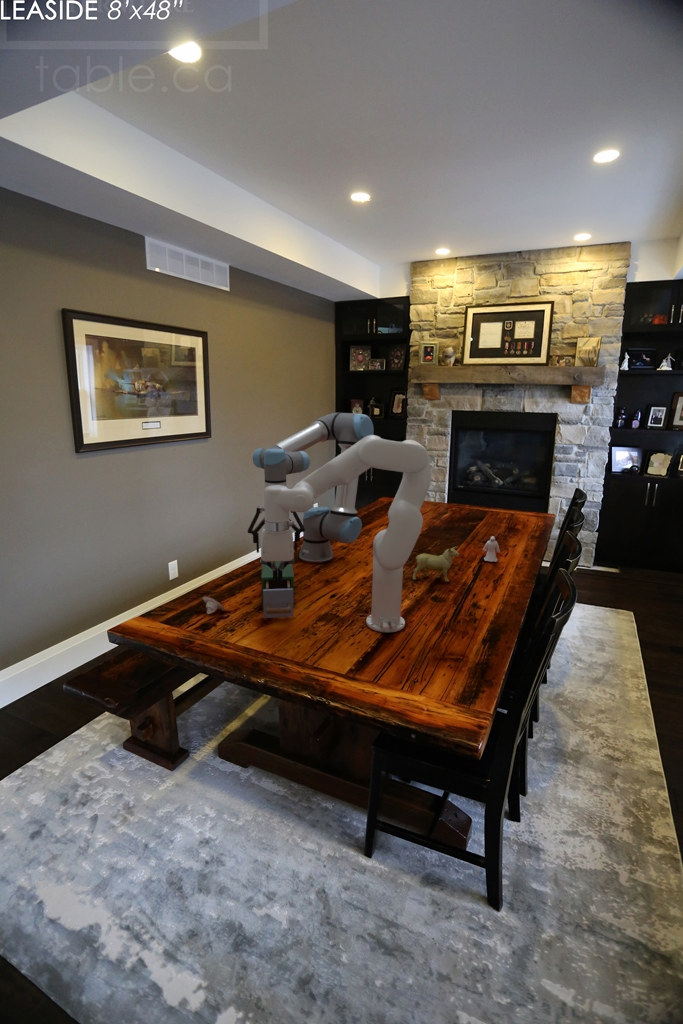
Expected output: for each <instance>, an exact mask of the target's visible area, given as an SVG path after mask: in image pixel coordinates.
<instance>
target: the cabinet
mask: <svg viewBox="0 0 683 1024" xmlns="http://www.w3.org/2000/svg"><path fill="white" fill-rule="evenodd" d="M275 565H276V567H277V576H278V567H279V565H280V562H275ZM285 579H289V581H290V588H293V609H295V589H294V588H295V586H294V585H295V575H294V569H293V564H289V565H287V566H286V567H285V568H284V569H283V570H282V579H280V580H285ZM266 580H275V579H273V570H272V569H271V568H270V567H269V566H268V565H262V564H261V609H262V610H263V589H266Z"/></svg>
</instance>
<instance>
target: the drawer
mask: <svg viewBox="0 0 683 1024" xmlns="http://www.w3.org/2000/svg"><path fill="white" fill-rule="evenodd" d="M262 610H263V619H275V618H293V617H294V608H293V588H290V581H289V579H285V580H280V583H279V582H277V583H275V580H266V589H263V609H262Z"/></svg>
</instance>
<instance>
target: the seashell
mask: <svg viewBox="0 0 683 1024" xmlns="http://www.w3.org/2000/svg"><path fill="white" fill-rule="evenodd" d="M202 600H203V602H204V603H205V608H206V614H207V615H211V614H213V613H215V612H216V611H217V610H222V611H225V610H226V608H225V606H224V605H223V604H221V602H219V601H218V600H216V599H214V598H212V597H209V596H203V597H202Z"/></svg>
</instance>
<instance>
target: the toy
mask: <svg viewBox="0 0 683 1024" xmlns="http://www.w3.org/2000/svg"><path fill="white" fill-rule="evenodd" d="M458 547H459V546H458V545H456V546H454V547H450V548H447V549H446V550H444V552H443V553H442V554H441V555H435V554H431V553H430V554H429V553H420V554H418V555H416V556H415V563H416V564H417V567H415V568H414V570H413V574H412V580H413V581H417V575H418V573H419V572H421V573H422V574H423V576H424V577H425V578H427V577H428V573H427V571H425V569H427V570H430V571H437V573H436V579H441V576H440V574H441V573H442V574H443V578H444V581H445V583H447V584H448V583H450V580H449V579H448V570H449V569H450V568H451V567H452V564H453V561H454V557H456V558H459V557H460V553H459V552H458V551H457V549H458Z"/></svg>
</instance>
